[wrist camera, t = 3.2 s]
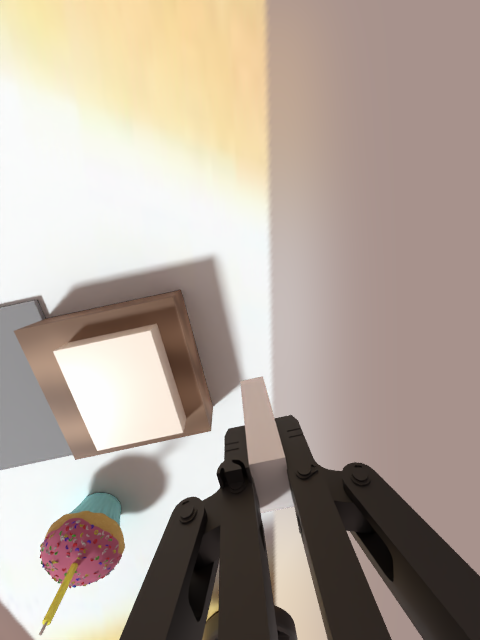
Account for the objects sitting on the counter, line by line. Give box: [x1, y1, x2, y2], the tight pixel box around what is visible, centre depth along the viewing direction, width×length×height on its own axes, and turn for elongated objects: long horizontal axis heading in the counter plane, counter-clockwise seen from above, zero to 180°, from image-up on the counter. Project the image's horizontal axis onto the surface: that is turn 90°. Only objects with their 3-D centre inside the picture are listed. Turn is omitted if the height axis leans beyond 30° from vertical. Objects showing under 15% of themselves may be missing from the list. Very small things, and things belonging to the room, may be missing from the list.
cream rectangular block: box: [53, 324, 186, 451], centre depth 22 cm, size 10×8×2 cm
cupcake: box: [39, 493, 125, 635], centre depth 26 cm, size 9×8×12 cm
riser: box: [14, 290, 213, 460], centre depth 25 cm, size 14×14×4 cm
